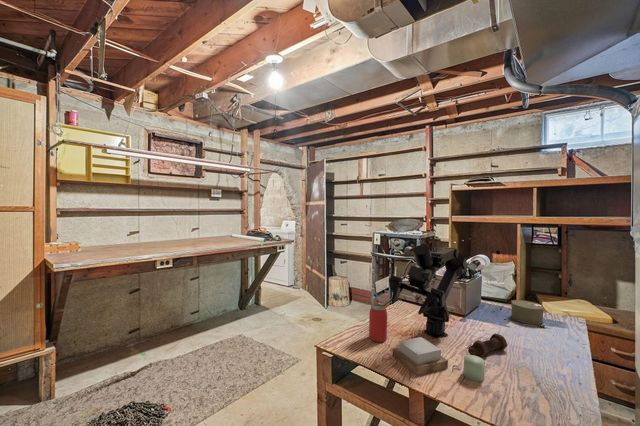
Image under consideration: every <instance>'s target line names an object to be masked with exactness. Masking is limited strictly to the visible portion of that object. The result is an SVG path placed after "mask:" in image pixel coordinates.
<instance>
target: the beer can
mask: <svg viewBox="0 0 640 426" xmlns="http://www.w3.org/2000/svg"><path fill="white" fill-rule="evenodd" d="M368 321H369V324H368V338H369V339H370V340H371V341H372V342H376V343H384V342H386V340H387V339H388V311H387V307H386V306H384V305H382V304H372V305H371V306H370V309H369V319H368Z"/></svg>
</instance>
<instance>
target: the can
mask: <svg viewBox="0 0 640 426" xmlns="http://www.w3.org/2000/svg"><path fill="white" fill-rule="evenodd" d="M510 303H511V316H510V317H511V318H512V319H513V320H515V321H518V322H520V323H525V324H528V325H529V324H530V325H542V324H543V322H544V309H545V307H544V306H543V305H542V304H540V303H538V302H535V301H531V300H524V299H513V300H511V302H510ZM541 323H542V324H541Z"/></svg>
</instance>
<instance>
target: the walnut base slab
mask: <svg viewBox="0 0 640 426" xmlns="http://www.w3.org/2000/svg"><path fill="white" fill-rule="evenodd" d="M391 357H394V358H395V359H396V360H397V361H398V362H399V363H401V364H402V365H403V366H404V367H406V368H407V369H408V370H409V371H410V372H412V373H413V374H414V375H415V376H420V375H424V374H429V373H433V372H436V371H442V370H445V369H448V368H449V360H448V359H446V358H445V357H443V356H442V355H441V359H439V360H435V361H430V362H426V363H422V364H416V363H415V362H414V361H412V360H411V359H410V358H409V357H407V356H406V355H405V354H403V353H402V352H401V351H400V350H399V346H398V347H394V348H392V356H391Z"/></svg>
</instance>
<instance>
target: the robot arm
mask: <svg viewBox="0 0 640 426" xmlns="http://www.w3.org/2000/svg"><path fill="white" fill-rule="evenodd" d="M412 248H413V249H412V253H413V258H414V261H415V264H416V266H415V265H410V268H409V269H408V271H407V276H408V277H409V278H407V282H408V283H406V282H403V277H400V276H396V275H394V274H391V275H390V277H389V278H388V284H389V289H390V291H391V292H392V298H391V305H394V304H395V303H396V302H397V300H398V299H399V298H400V296H401V293H402V292H403V290H406V291H409V292H410V293H412V294H415V295H418V296H421V297H424V301H423V302H422V304H421V306H420V308H419V309H418V313H417V315H419V316H420V315H422V316H423V317H424V318H426V321H425V322H426V323H425V329H423V332H424V333H426V334H428V335H429V336H430V337H432V338H434V339H438V338H443V337H447V336H448V335H449V334H448V333H446V330H445V329H446V323H450V318H451V316H450V312H449V310H448V307H447V298H448V296H449V295H450V293H451V290H452V288H453V285H454V284H455V281H456V280H457V278H458V277H460V276H462V275H463V274H464V273H465V271H466V270H467V269H468V262H467V259H466V257H465V256H464V255H463V254H462V253H461V252H460V250H459V249H457V248H454V247H445V248H444V249H441V250H438V251H431V248H430V247H429V243H424V242H422V244H420V245H416V246H415V247H412ZM443 268H445V272H444V273H443V275H442V278H440V279H441V280H440V281H439V283H438V286H437V288H434V287H431V289H430V291H429V290H427V289H429V288H430V284H431V282H432V280H433V279H437V269H439V270H441V269H443Z"/></svg>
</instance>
